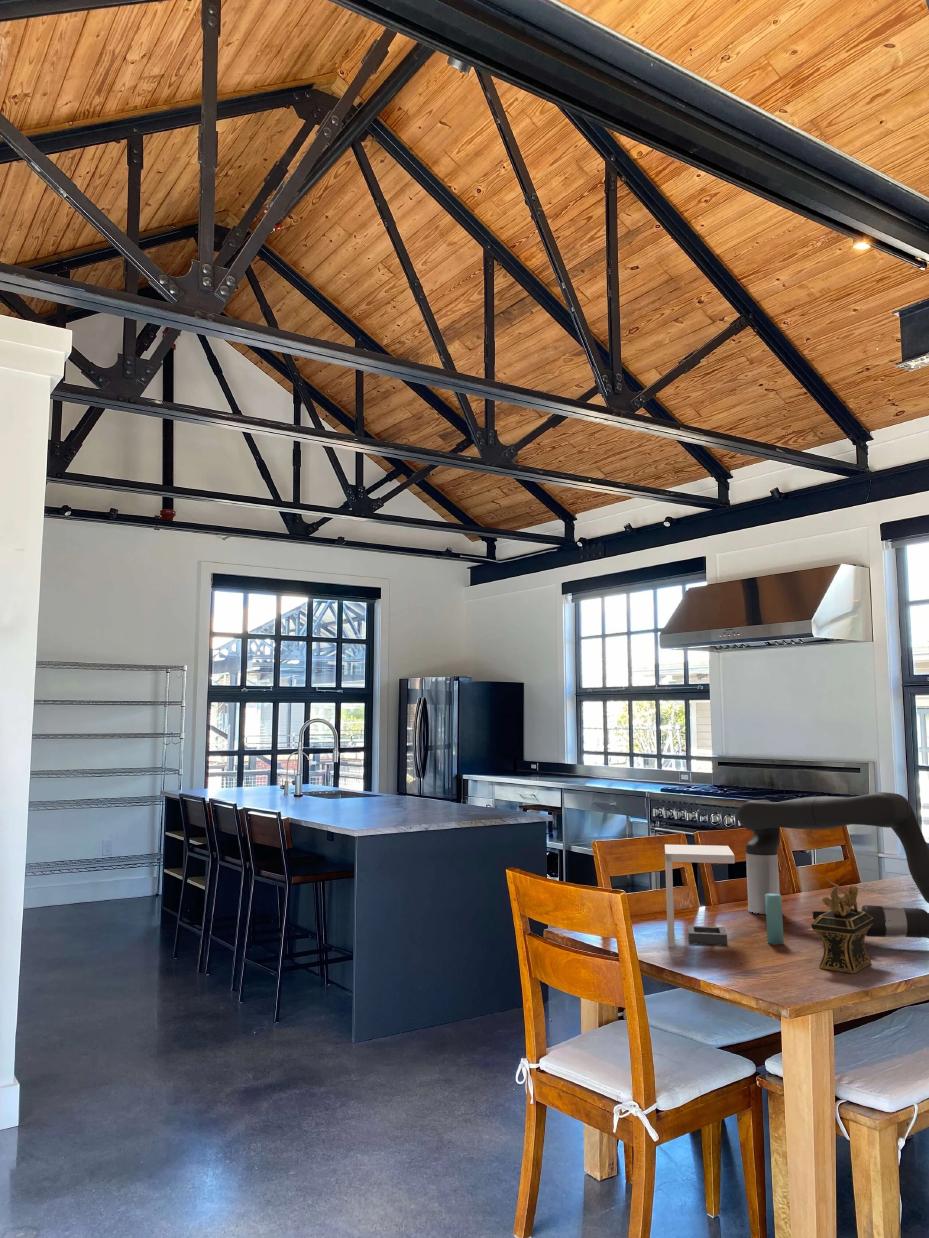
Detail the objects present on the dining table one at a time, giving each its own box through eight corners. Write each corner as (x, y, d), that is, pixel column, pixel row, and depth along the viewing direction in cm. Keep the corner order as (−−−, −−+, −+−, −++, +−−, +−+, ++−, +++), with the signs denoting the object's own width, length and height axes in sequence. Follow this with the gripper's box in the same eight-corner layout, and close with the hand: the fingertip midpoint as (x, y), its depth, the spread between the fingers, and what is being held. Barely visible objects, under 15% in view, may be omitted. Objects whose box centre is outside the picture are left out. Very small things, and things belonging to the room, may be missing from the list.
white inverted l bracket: (738, 950, 219) (734, 855, 222) (668, 946, 223) (665, 853, 226) (731, 932, 238) (728, 845, 242) (667, 930, 242) (664, 844, 245)
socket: (687, 935, 236) (687, 925, 236) (724, 936, 234) (724, 926, 234) (689, 943, 227) (688, 933, 227) (727, 944, 225) (727, 934, 225)
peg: (766, 940, 229) (764, 893, 231) (782, 941, 228) (780, 893, 230) (768, 944, 225) (766, 895, 227) (784, 945, 224) (782, 896, 226)
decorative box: (835, 955, 214) (830, 872, 216) (877, 962, 207) (872, 875, 210) (806, 972, 198) (801, 882, 201) (851, 980, 192) (845, 886, 195)
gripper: (876, 900, 230) (810, 898, 233) (890, 911, 216) (820, 908, 219) (877, 930, 229) (811, 927, 232) (892, 943, 215) (821, 940, 218)
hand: (815, 918), depth 225 cm, fingers open, 8 cm apart
